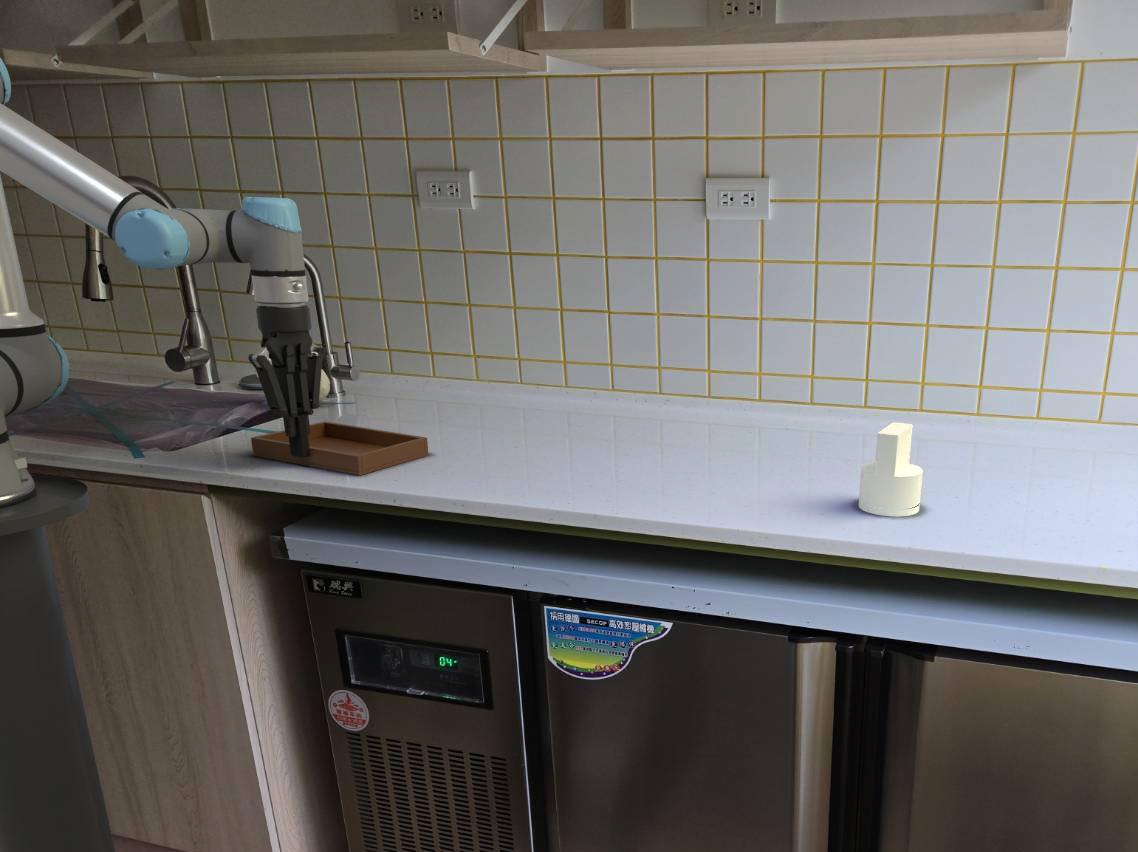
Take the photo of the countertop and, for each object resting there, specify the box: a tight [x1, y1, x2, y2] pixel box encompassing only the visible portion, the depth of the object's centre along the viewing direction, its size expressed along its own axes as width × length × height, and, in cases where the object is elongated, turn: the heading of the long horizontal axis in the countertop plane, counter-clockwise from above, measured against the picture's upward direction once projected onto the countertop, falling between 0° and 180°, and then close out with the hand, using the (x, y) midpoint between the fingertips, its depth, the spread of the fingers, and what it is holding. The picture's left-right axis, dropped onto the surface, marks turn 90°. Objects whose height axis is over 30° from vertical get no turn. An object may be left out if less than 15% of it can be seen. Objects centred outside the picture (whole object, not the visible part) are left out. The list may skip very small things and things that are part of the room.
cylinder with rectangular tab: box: [858, 421, 924, 518], centre depth 144 cm, size 9×9×12 cm
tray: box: [250, 420, 429, 476], centre depth 164 cm, size 16×24×3 cm, turn 65°
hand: (300, 455), depth 157 cm, fingers closed
